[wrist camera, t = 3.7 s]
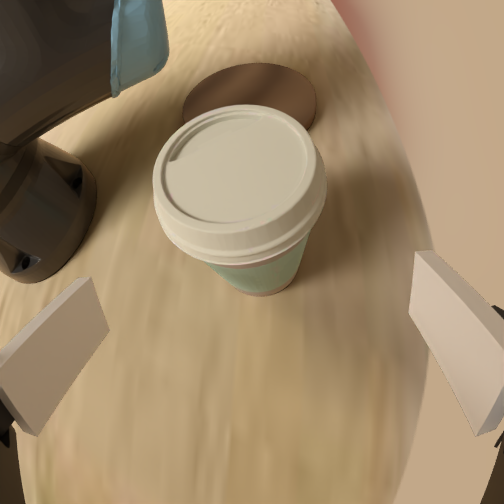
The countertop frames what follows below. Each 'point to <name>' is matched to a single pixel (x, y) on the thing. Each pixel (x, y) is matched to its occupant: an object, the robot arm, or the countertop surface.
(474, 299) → the robot arm
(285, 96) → the walnut trivet
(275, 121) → the coffee cup
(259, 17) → the countertop surface
